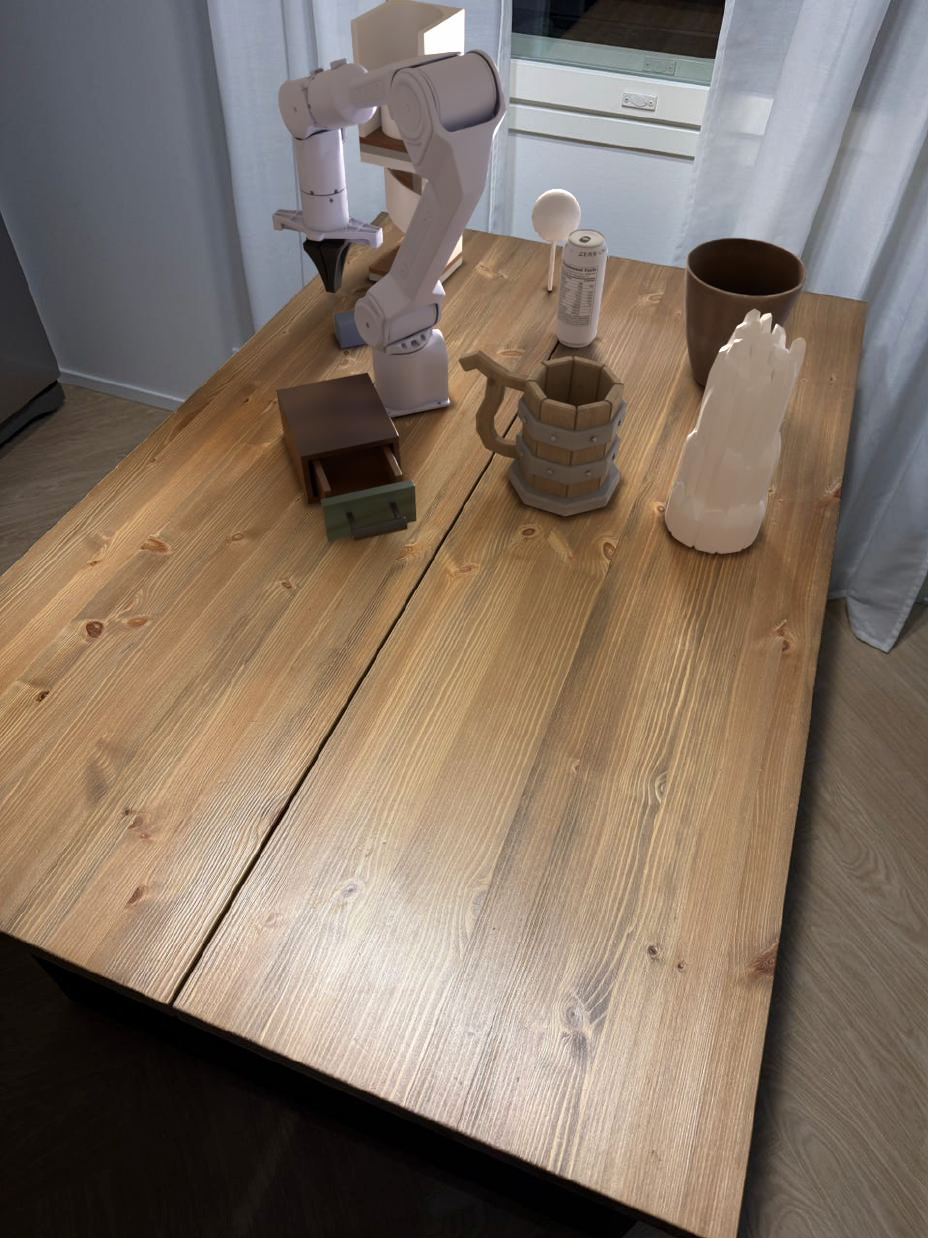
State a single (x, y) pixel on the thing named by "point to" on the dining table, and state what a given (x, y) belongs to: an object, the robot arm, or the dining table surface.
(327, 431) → the cabinet
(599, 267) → the energy drink can
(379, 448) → the drawer
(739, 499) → the cream upright sculpted piece
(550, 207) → the lollipop
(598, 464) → the tankard
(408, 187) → the display case
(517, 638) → the dining table surface
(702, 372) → the flower pot
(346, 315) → the block
